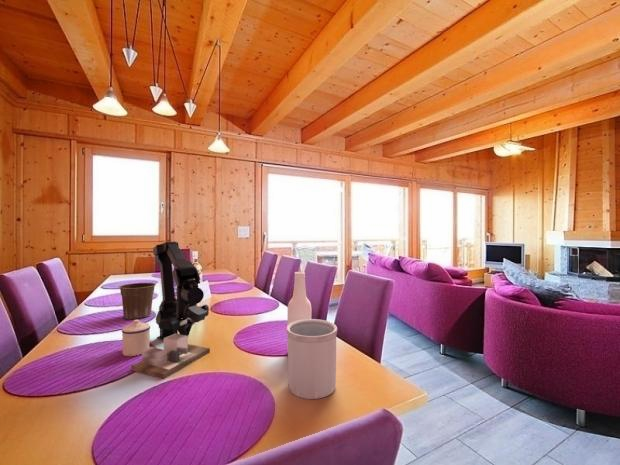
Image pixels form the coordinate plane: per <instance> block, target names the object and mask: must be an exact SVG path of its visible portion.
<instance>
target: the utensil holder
mask: <svg viewBox="0 0 620 465" xmlns="http://www.w3.org/2000/svg"><path fill="white" fill-rule="evenodd" d="M286 335H288V352H287V370H288V371H287V372H288V374H287V375H288V388H289V391H290V392H291V393H292V394H293V395H295V396H296V397H299V398H302V399H306V400H317V399H323V398H325V397H328V396H330V395H331V394H332V393H333V392H334V391H335V389H336V382H337V381H336V380H337V379H336V377H337V376H336V375H337V335H338V327H337V325H336V324H335V323H333V322H331V321H328V320H324V319H319V318H318V319H315V318H311V319H305V320H298V321H295V322H292V323H290V324H289V325H288V326H286Z"/></svg>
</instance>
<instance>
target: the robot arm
mask: <svg viewBox="0 0 620 465" xmlns="http://www.w3.org/2000/svg"><path fill="white" fill-rule="evenodd" d="M152 254H153V256H154V260H155V262H156V263H157V264H158V265H159V269H160V280H161V281H160V282H161V284H160V285H161V294H162V295H161V296H162V301H161V302H160V305H159V306H158V312H157V314H156V317H155V323H156V324H157V326H158V329H159V335H158V336H157V337H156V340H162V341H164V338H166V337H168V336H170V335H173V334H180V335H186V336H188V337H189V336H190V332H191V330H192V327H193V326H194V324H196V323H199V322H202V321H204V320H205V319H206V317H207V316H209V311H210V309H209V308H210V306H209V305H208V304H203V305H199V306H198V305H197V304H200V303H201V302H202V301H203V299H204V296H205V295H204V294H205V292H204V291H203V289H202V288H200V287H199V284H201V277H200V274H199V271H198V269H197V267H196V266H195V265H194V264H193V262H192V261H189V260H187V259H186V257H185V256H184V254H183V251H181V248H180V247H179V242H178V241H165V242H163V243H160V244H156V245H155V246H154V247H153V249H152ZM174 282H175V283H174ZM175 286H176V295H175Z"/></svg>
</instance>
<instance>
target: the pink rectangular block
mask: <svg viewBox="0 0 620 465" xmlns="http://www.w3.org/2000/svg"><path fill="white" fill-rule="evenodd" d="M188 342H189V336H186V335H180V334H179V333H178V334H173V335H170V336H168V337H166V338H164V340H163V349H164V350H167V353H169V352H170V351H172V350H174V351H179V354H180V353H183V354H187V353H188V344H189V343H188Z"/></svg>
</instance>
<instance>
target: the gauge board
mask: <svg viewBox="0 0 620 465" xmlns="http://www.w3.org/2000/svg"><path fill="white" fill-rule="evenodd" d="M210 348H211V347H210ZM210 348H209V347H205V346H199V345H195V344H189V343H188V353H187V354H183V353H180V354H179V361H178V362H172V361H169V353H167V350H164V348H163V349H162V348H158V347H154V346H150V348H148V349H145V350H143V351H142V354H141V361H139V362H136V363H134V364H132V365H131V366H130V370H131V371H132V372H135V373H139V374H144V375H147V376H151V377H155V378H159V379H163V380H164V379H166V378H168V377H170V376H171V375H173V374H175V373H177V372H178V371H181V370H182V369H183V368H185V367H187V366H189V365H190V364H191V365H192V363H194V362H196V361H198V360H199V359H201V358H202V357H204V356H206V355H208V354H210V352H211V349H210Z"/></svg>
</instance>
